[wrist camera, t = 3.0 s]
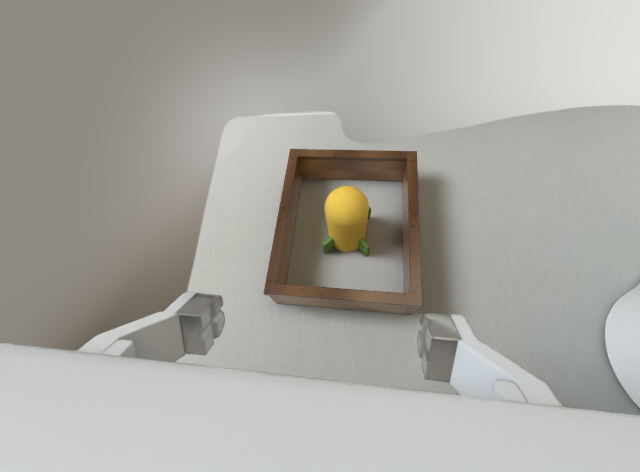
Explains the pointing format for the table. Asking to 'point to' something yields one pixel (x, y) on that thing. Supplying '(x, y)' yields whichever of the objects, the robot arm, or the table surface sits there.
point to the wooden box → (350, 168)
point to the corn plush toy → (347, 220)
